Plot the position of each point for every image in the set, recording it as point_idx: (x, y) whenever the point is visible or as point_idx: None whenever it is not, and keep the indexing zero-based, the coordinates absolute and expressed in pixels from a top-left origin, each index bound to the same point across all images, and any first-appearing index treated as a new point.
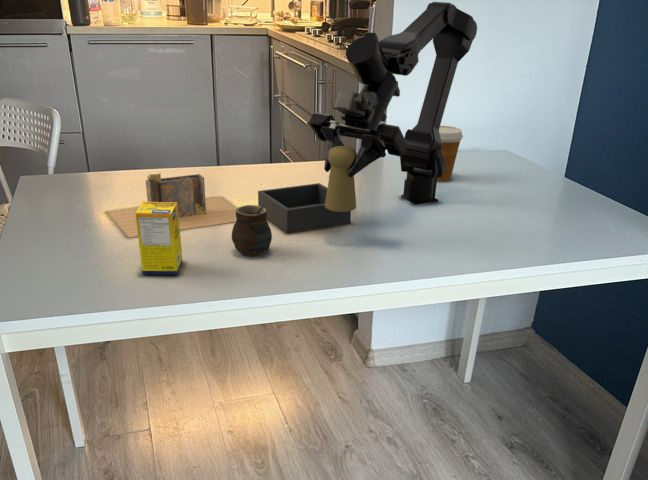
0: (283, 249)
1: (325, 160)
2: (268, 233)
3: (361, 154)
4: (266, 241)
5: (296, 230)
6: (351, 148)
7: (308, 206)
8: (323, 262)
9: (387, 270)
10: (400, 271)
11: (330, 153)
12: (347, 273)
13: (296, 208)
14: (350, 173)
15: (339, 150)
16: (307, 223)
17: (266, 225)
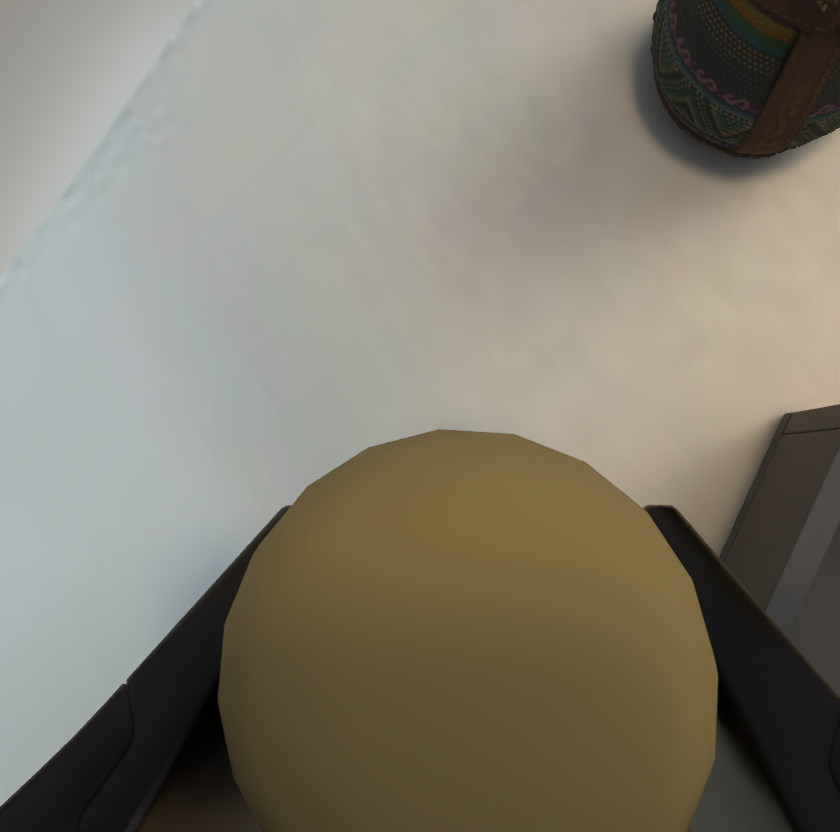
0: (638, 219)
1: (729, 578)
2: (672, 30)
3: (94, 733)
4: (654, 29)
5: (763, 470)
6: (305, 810)
7: (797, 577)
8: (372, 225)
9: (90, 351)
10: (40, 381)
11: (578, 471)
12: (213, 199)
13: (835, 478)
14: (278, 516)
15: (407, 525)
16: (743, 543)
17: (706, 2)
